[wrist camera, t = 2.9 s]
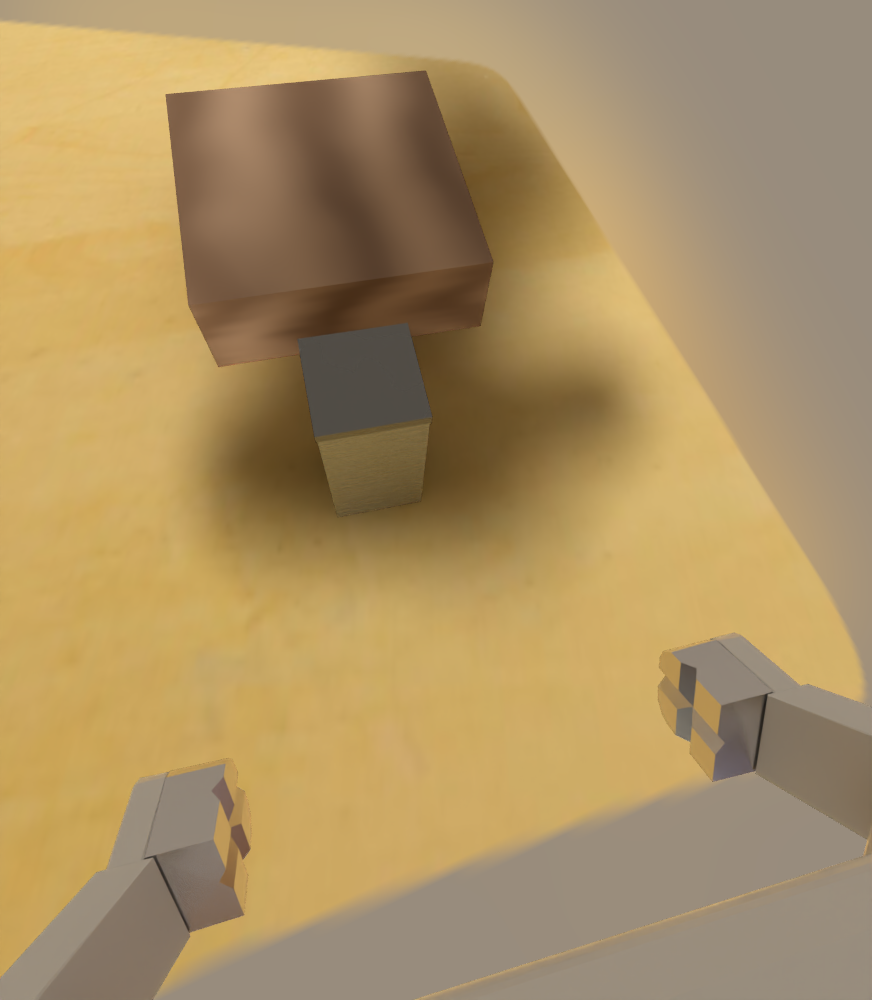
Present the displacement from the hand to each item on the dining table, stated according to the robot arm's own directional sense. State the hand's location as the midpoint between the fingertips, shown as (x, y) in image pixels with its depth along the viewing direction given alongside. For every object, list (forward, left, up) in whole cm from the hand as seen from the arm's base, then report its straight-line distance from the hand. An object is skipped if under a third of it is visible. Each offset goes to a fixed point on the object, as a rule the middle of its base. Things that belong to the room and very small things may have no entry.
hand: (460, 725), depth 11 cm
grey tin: (0, +12, -14) cm, 18 cm away
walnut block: (0, +26, -14) cm, 30 cm away
